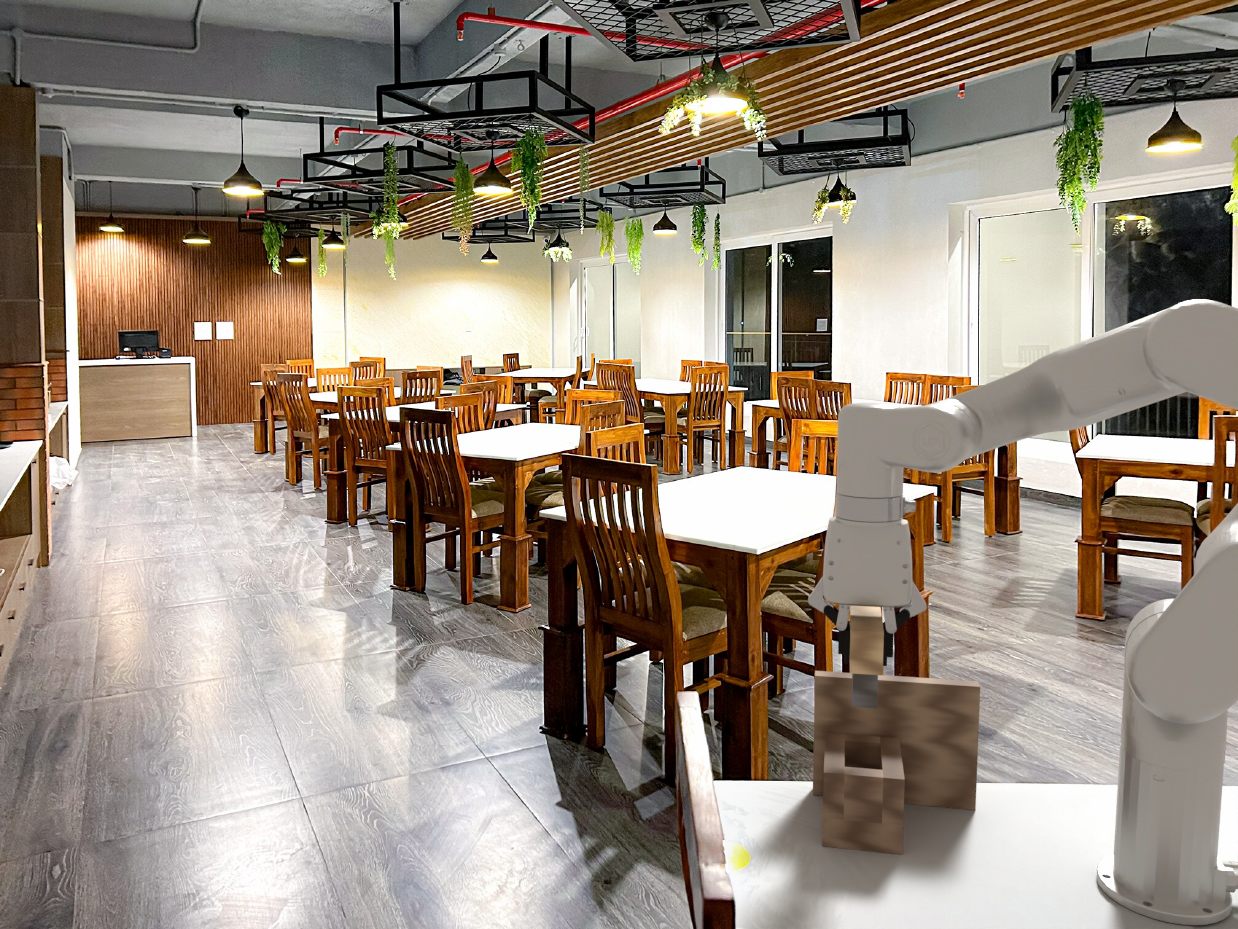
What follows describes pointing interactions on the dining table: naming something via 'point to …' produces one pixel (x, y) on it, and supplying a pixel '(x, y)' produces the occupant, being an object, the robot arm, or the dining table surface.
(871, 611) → the tan grey block
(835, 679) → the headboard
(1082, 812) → the dining table surface
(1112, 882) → the robot arm
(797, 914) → the dining table surface
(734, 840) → the dining table surface
